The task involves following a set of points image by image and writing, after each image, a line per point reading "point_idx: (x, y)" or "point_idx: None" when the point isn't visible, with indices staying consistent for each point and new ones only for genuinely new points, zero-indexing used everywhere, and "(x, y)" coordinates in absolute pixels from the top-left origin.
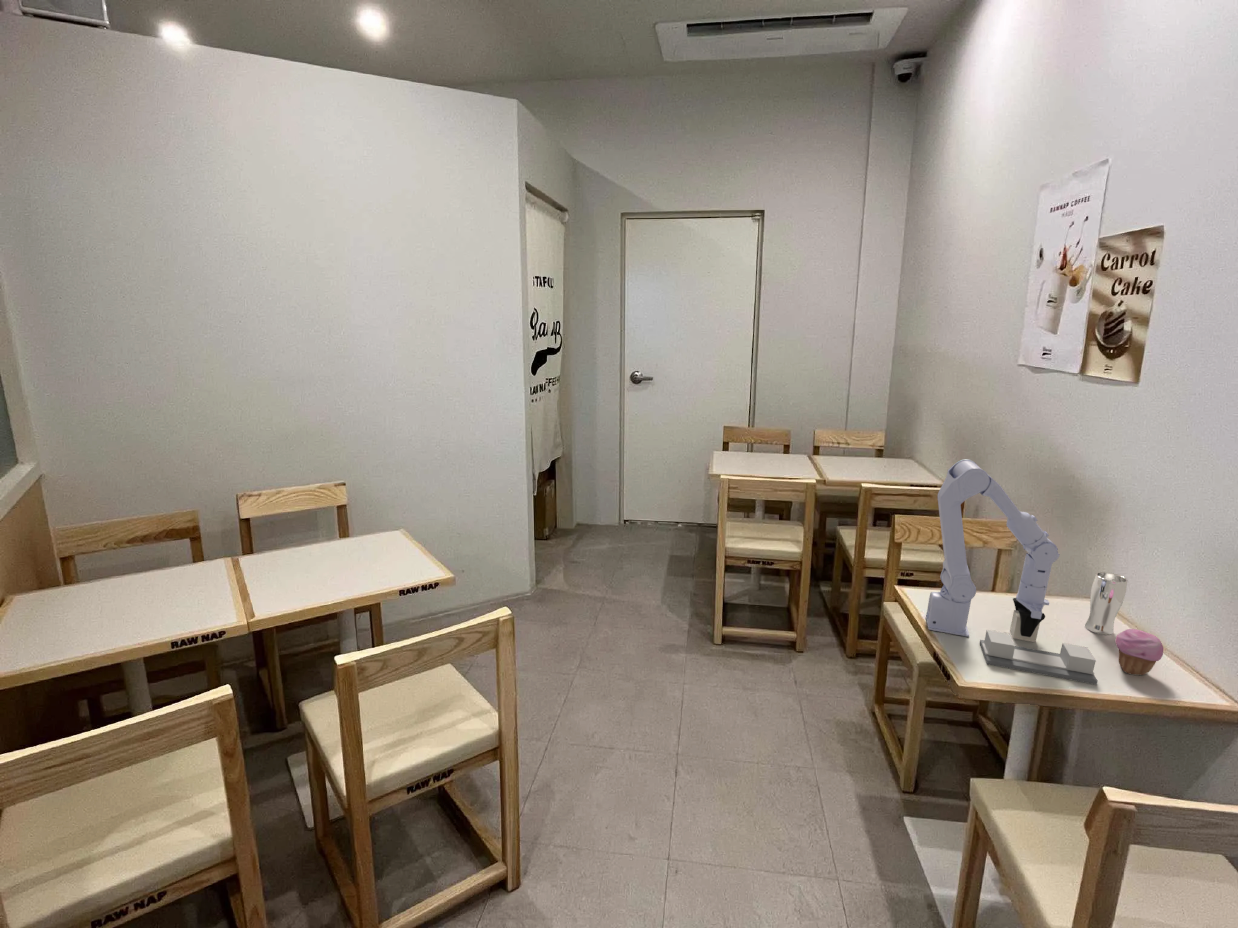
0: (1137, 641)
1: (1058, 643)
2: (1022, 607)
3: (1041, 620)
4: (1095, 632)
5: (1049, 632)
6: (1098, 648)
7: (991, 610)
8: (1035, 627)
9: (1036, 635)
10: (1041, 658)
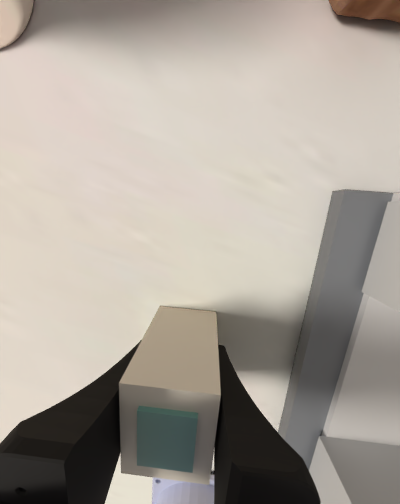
0: None
1: (199, 233)
2: (105, 474)
3: (285, 443)
4: (28, 16)
5: (115, 236)
6: (191, 68)
7: (25, 374)
8: (242, 385)
9: (216, 329)
10: (391, 362)
